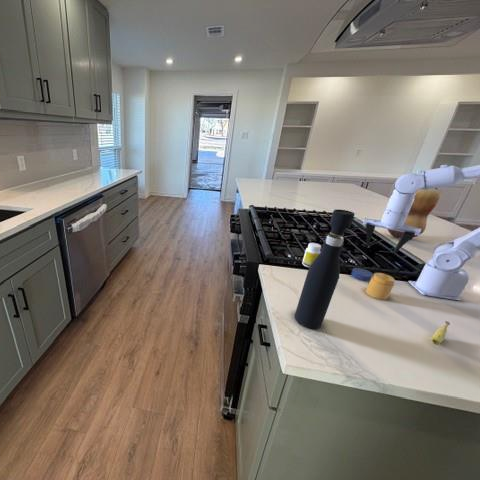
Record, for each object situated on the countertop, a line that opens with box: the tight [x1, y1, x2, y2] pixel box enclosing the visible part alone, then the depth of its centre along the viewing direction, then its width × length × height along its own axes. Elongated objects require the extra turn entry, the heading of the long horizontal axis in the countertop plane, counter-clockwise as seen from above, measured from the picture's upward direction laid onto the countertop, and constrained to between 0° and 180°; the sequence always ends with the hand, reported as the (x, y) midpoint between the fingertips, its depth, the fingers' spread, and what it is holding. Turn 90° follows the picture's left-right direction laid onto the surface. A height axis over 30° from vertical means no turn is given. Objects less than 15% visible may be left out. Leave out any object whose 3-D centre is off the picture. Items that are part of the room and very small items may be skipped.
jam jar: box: [365, 272, 396, 301], centre depth 77 cm, size 5×5×6 cm
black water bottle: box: [293, 208, 356, 330], centre depth 61 cm, size 6×6×30 cm
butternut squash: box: [387, 188, 441, 239], centre depth 118 cm, size 14×13×25 cm
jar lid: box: [350, 267, 374, 282], centre depth 88 cm, size 6×6×2 cm
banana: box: [430, 320, 451, 345], centre depth 61 cm, size 8×2×4 cm, turn 123°
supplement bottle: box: [301, 242, 322, 269], centre depth 93 cm, size 5×5×8 cm
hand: (380, 248), depth 88 cm, fingers open, 7 cm apart
